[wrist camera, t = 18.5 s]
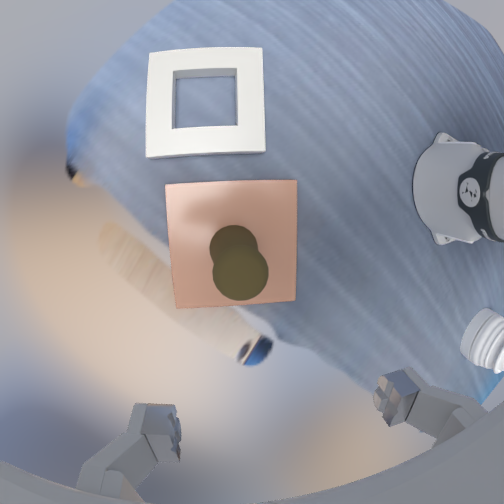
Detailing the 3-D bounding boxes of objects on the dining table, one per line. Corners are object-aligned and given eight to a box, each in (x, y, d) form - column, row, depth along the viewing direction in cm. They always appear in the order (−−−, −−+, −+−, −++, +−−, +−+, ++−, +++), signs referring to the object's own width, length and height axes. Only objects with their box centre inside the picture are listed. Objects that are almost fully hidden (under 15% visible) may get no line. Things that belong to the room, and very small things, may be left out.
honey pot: (468, 314, 46) (524, 351, 29) (496, 303, 47) (546, 332, 30) (454, 362, 49) (499, 402, 32) (483, 347, 51) (525, 379, 33)
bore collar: (258, 57, 30) (262, 47, 27) (261, 153, 33) (265, 151, 30) (154, 62, 28) (149, 53, 25) (151, 159, 31) (146, 157, 28)
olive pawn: (211, 222, 34) (210, 241, 23) (260, 227, 35) (281, 248, 24) (207, 270, 35) (204, 308, 25) (254, 274, 36) (271, 312, 26)
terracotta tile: (295, 179, 34) (296, 179, 34) (294, 298, 38) (295, 300, 38) (166, 184, 32) (165, 184, 32) (177, 306, 36) (176, 308, 36)
